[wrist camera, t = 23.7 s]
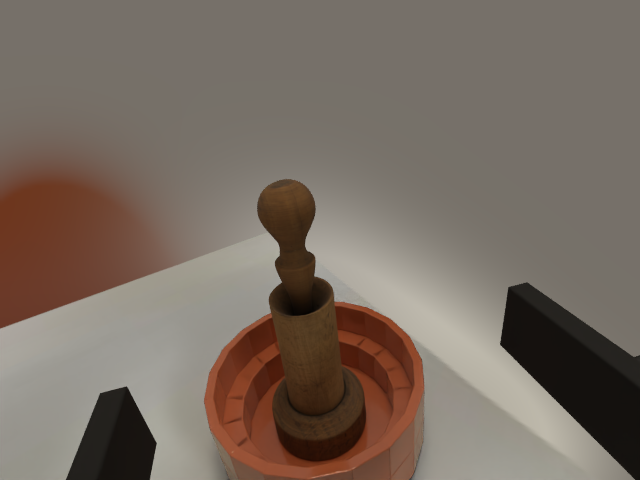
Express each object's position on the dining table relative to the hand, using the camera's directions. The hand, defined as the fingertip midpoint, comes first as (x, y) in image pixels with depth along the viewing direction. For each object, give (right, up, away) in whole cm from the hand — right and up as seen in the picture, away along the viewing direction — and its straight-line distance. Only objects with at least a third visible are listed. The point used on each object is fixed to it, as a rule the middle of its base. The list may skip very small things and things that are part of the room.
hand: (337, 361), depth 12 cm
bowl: (0, -10, +14) cm, 17 cm away
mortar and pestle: (-1, -9, +14) cm, 17 cm away
